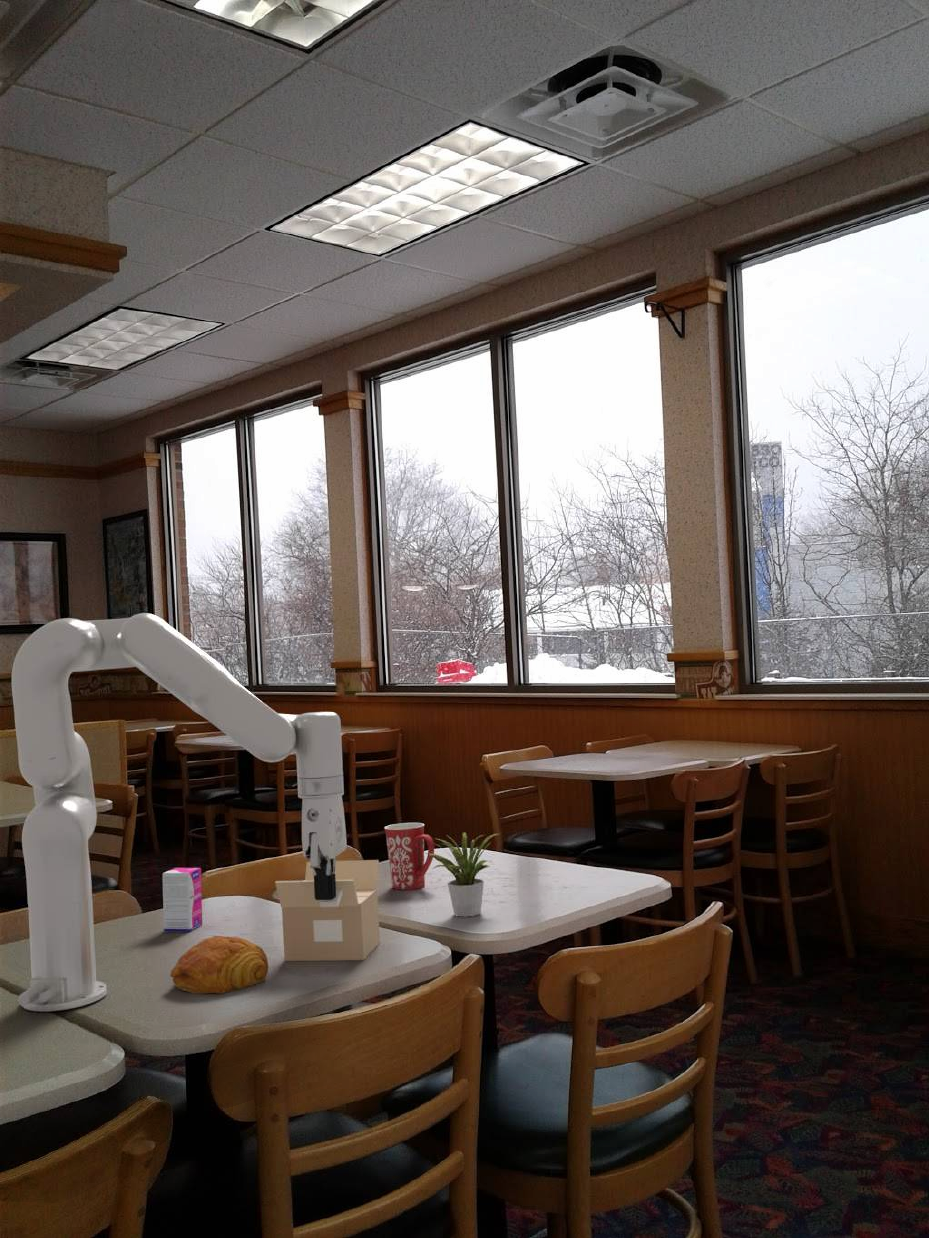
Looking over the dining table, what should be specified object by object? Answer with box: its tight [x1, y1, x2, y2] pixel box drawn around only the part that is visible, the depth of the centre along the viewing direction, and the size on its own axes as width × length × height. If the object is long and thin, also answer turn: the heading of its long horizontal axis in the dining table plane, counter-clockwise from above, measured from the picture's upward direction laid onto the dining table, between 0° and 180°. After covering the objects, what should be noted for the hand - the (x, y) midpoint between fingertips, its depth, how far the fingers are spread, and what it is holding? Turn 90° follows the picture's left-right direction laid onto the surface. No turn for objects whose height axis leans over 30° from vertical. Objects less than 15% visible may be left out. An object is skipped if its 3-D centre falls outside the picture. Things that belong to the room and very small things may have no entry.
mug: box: [383, 822, 435, 891], centre depth 241 cm, size 13×9×14 cm
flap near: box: [274, 879, 359, 908], centre depth 183 cm, size 5×14×4 cm
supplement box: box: [162, 867, 203, 933], centre depth 215 cm, size 6×6×12 cm
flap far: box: [304, 859, 380, 890], centre depth 200 cm, size 5×14×4 cm
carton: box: [281, 888, 381, 962], centre depth 191 cm, size 11×14×10 cm
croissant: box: [169, 935, 269, 995], centre depth 177 cm, size 14×16×8 cm
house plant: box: [424, 831, 501, 917], centre depth 215 cm, size 14×14×16 cm
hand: (325, 898), depth 180 cm, fingers closed
